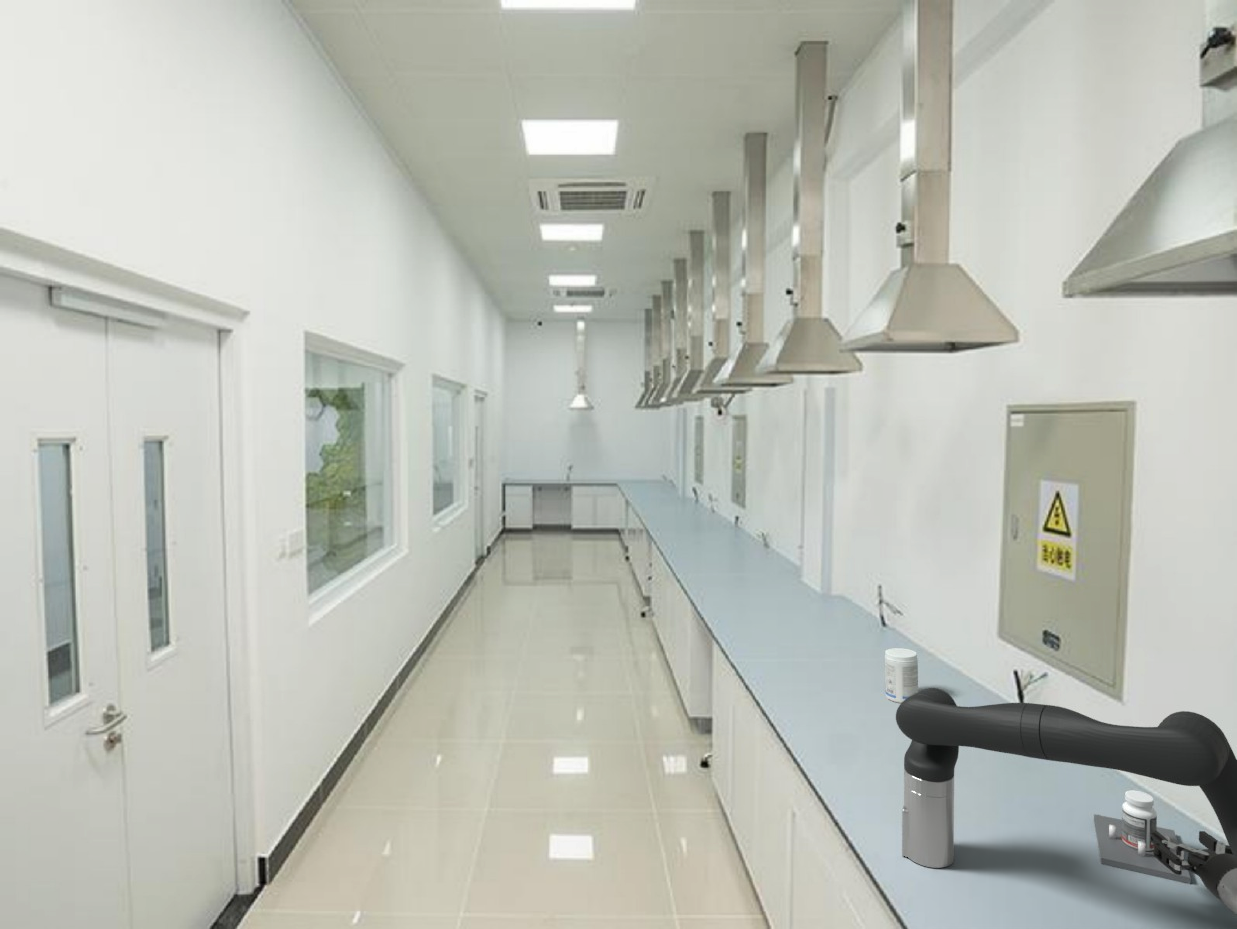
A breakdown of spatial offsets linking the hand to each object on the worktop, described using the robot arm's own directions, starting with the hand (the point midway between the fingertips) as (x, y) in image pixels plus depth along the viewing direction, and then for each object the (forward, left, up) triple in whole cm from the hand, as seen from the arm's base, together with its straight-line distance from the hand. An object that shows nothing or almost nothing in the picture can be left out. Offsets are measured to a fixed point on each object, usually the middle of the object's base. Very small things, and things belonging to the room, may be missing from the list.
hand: (1176, 834), depth 138 cm
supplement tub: (-59, +74, -10) cm, 95 cm away
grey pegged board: (-5, +10, -9) cm, 14 cm away
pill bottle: (-5, +10, -8) cm, 14 cm away
